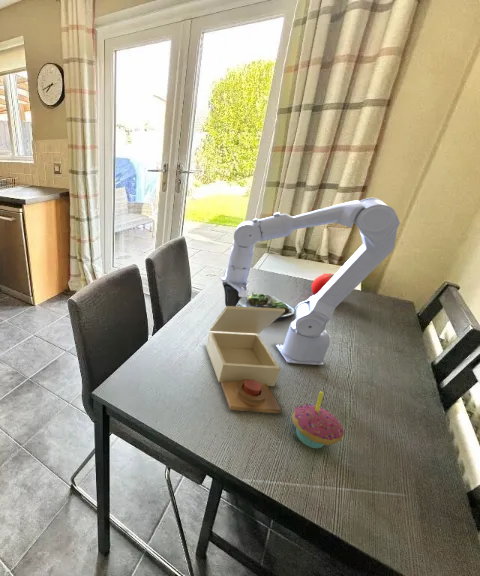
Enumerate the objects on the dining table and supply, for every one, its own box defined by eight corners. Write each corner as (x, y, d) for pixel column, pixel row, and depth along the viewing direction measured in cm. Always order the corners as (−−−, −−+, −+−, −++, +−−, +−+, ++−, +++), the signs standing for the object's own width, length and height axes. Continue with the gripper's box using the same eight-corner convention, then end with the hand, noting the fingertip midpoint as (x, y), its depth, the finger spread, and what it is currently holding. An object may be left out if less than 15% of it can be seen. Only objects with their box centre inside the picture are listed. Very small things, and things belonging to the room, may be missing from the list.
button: (256, 385, 73) (258, 379, 73) (262, 396, 70) (263, 391, 69) (240, 384, 74) (242, 378, 73) (245, 395, 71) (247, 389, 70)
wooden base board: (265, 387, 76) (269, 378, 75) (279, 413, 69) (283, 404, 68) (220, 384, 77) (222, 375, 76) (229, 409, 70) (232, 400, 69)
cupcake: (278, 422, 67) (294, 381, 62) (314, 419, 68) (333, 378, 62) (305, 459, 59) (326, 416, 54) (346, 456, 60) (370, 412, 55)
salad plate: (222, 297, 119) (224, 286, 117) (262, 292, 122) (265, 282, 120) (256, 324, 102) (259, 312, 100) (301, 317, 105) (305, 306, 103)
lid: (285, 311, 73) (284, 308, 73) (226, 308, 74) (226, 305, 75) (258, 333, 87) (258, 331, 87) (209, 331, 88) (209, 328, 88)
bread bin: (274, 386, 77) (280, 368, 74) (218, 382, 78) (222, 364, 75) (253, 350, 90) (258, 333, 87) (206, 347, 91) (209, 331, 88)
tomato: (352, 305, 113) (363, 280, 108) (318, 305, 113) (327, 280, 108) (332, 291, 123) (341, 268, 118) (300, 291, 123) (308, 268, 118)
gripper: (218, 255, 92) (210, 295, 98) (232, 275, 79) (222, 319, 85) (242, 256, 92) (233, 296, 98) (260, 276, 79) (248, 320, 85)
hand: (229, 306), depth 92 cm, fingers closed
